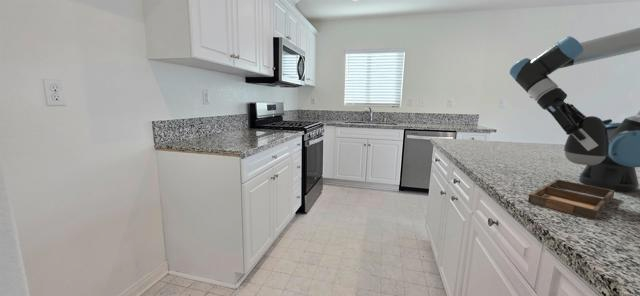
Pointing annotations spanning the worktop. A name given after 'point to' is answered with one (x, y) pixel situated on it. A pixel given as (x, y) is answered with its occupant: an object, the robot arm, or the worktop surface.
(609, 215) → the worktop surface
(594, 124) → the dark grey egg shape
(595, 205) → the rack
